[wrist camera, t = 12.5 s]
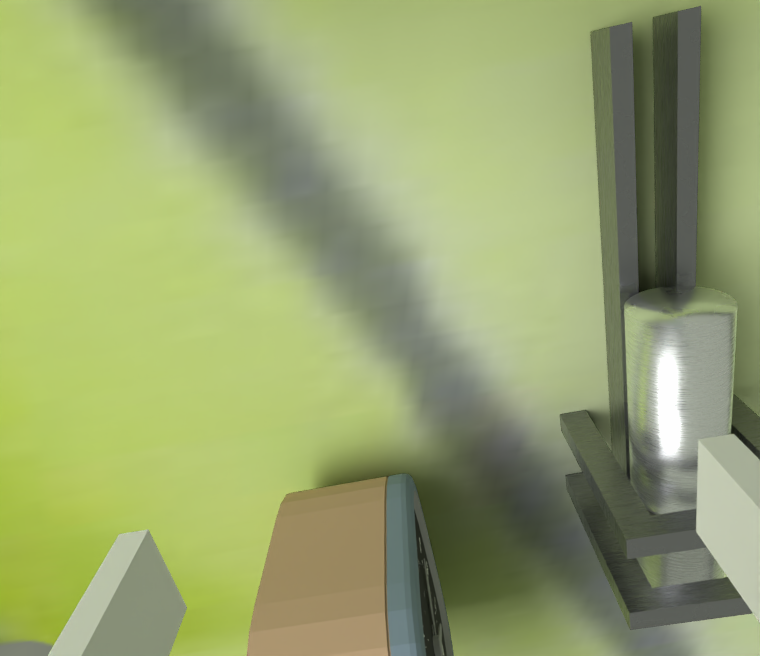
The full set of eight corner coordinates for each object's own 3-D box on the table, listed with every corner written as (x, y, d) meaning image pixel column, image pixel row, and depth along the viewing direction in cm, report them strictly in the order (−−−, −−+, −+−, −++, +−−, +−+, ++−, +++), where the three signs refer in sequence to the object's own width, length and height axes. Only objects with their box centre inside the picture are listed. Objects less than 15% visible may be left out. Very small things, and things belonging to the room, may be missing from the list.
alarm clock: (449, 612, 52) (489, 934, 32) (351, 627, 53) (332, 948, 33) (406, 434, 44) (424, 718, 24) (292, 455, 45) (219, 745, 25)
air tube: (608, 296, 36) (648, 334, 31) (703, 278, 36) (762, 314, 30) (620, 544, 45) (653, 609, 39) (697, 533, 44) (741, 597, 39)
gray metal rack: (525, 47, 33) (604, 26, 21) (742, -4, 32) (957, -56, 20) (571, 536, 48) (632, 684, 36) (719, 513, 47) (832, 658, 35)
